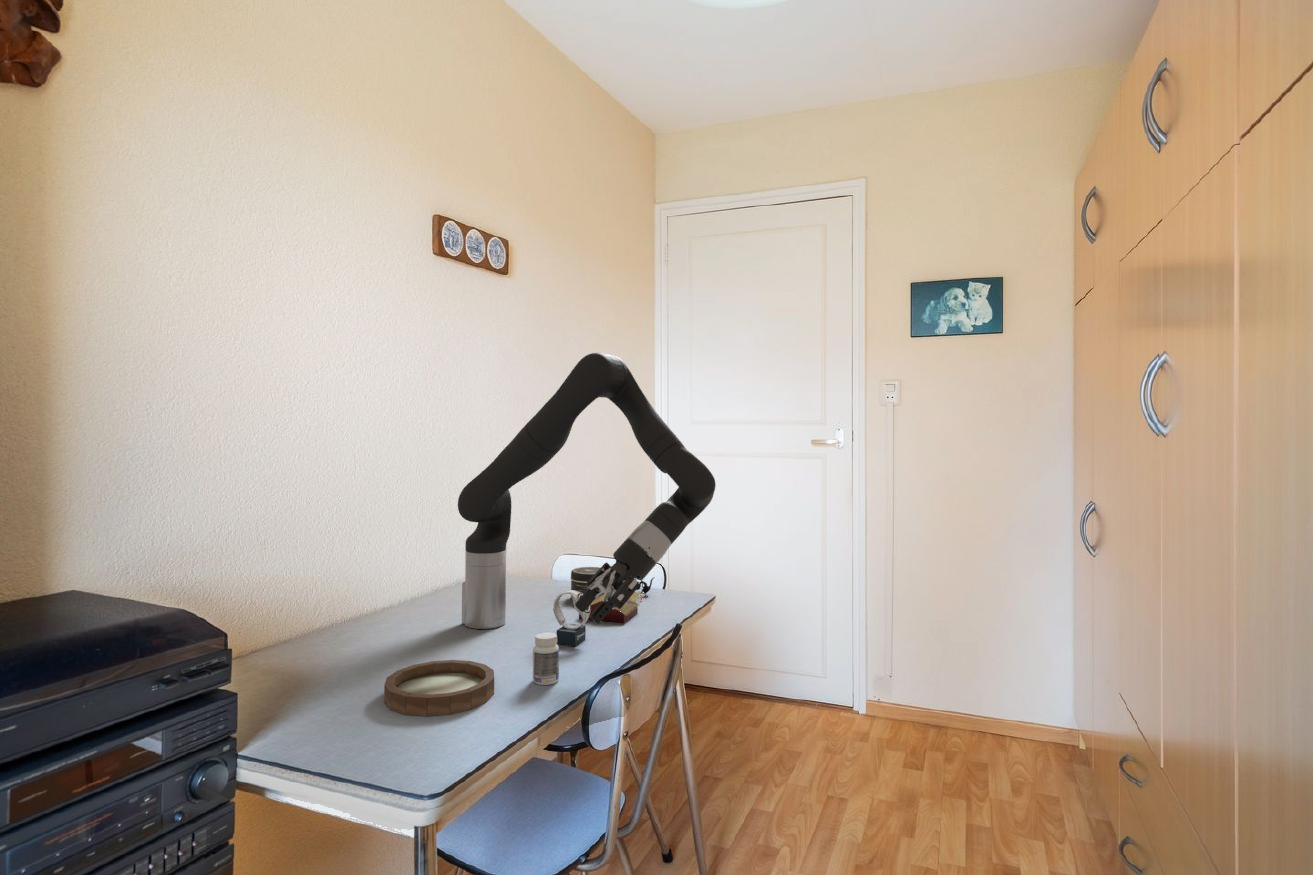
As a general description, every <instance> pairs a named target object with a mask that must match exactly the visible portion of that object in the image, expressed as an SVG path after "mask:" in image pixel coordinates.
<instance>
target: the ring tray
mask: <svg viewBox="0 0 1313 875" xmlns="http://www.w3.org/2000/svg"><path fill="white" fill-rule="evenodd" d="M383 693H384V694H383V695H384V696H383V699H384V705H386V707H388V709H389V710H391V711H393V712H396V713H400V714H403V715H405V714H408V715H407V716H416V715H419V716H418V717H435V715H437V716H445V715H453V714H454V715H455V714H457V713H461V712H465V711H470V710H473V709H475V708H477V707H479V706H481V705H484V704H486V703H487V702H488V701H490V700H491V698H493V697H494V695H495V672H494V669H493V668H491V667H490V666H488V665H487V664H486V663H485V664H484V663H480V662H477V661H473V660H463V659H448V660H447V659H446V660H445V659H444V660H443V659H442V660H431V661H426V662H421V663H417V664H416V663H415V664H412V665H410V666H406V667H403V668H401V669H398V670H395V671H394V672H393V673H392V674H390V675H389V676H387V677H386V678H385V682H384V692H383ZM420 715H421V716H420Z"/></svg>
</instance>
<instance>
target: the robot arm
mask: <svg viewBox="0 0 1313 875" xmlns="http://www.w3.org/2000/svg"><path fill="white" fill-rule="evenodd" d="M598 398H607V399H608V400H609V401H610V402H612V403H613V404H614V405H615V406H616V407H617V408H618V409H619V410H620V411H621V412H622V413H623V415H624V417H625V418H626V419H627V421H628V422H629V425H630V427H631V429H632V432H633V434H634V436H635V439H636V441H637V442H638V445H639V446H640V448H641V449H642V450H643V452H644V453H645V454H646V455H647V457H648V458H649V459H650V461H651V462H652V463H653V464H654V465H655V466H656V468H657V469H658V470H659V471H660V472H662V473H663V474H667V475H668V476H669V477H670V479H671V480H672V481H673V482H674V483H675V485H677V488H676V490H675V492H674V493H673V494H672V495H671V496H669V498H668V499H667V500H666V501H664V502H661V503H660V504H659V505H658V506H656V508H654V509H653V511H652V512H651V513H650V514H649V515H648V516H647V517H646V518H645V519H644V521H642V523H640V524H639V525H638V526H637V527H636V528H634V530H633V531H632V532H631V533H630V534H629V535H628V537H627V538H626V539H625V540H624V541H623V542H622V543H621V545H619V547H618V548H617V549H616V550H615V551H614V552H613V554H612V556H613V559H614V561H615V562H614V563H613V564H612V565H610V564H609V563H608V562H607V561H606V562H604V563H603V564H602V566H601V567H600V569H599V570H598V571H597V572H596V573H595V574H594V575H593V576H592V577H591V578H590V580H589V581H588V582H587V583H586V585H587V586H588V587H587V591H586V592H585V593H584V594H583V595H582V597H581V598H580V599H579V600H578V601H577V602H576V603H575V606H576V607H577V608H578V609H579V610H580V611H581V612H584V611H585V610H586V609H587V608H588V607H589V605H590V604H591V603H592V602H593V601H594V600H595V599H596V598H595V597H598V596H599V595H601V594H602V593H605V594H606V593H607V594H606V596H605V598H604V601H605V602H604V601H602V602H601V603H600V604H599V605H598V606H597V607H596V609H595V610H594V611H593V612H592V613H591V614H590V618H591V619H592V620H593V621H592V622H594V623H595V624H597V625H599V624H601V621H602V620H603V618H604V617H605V616H606V615H607V614H608V613H609V612H610V610H611V609H615V608H616V607H617V608H618V609H621V608H622V607H623V605H624V604H625V603H626V602H627V601H628V599H629V598H630V597H631V596H632V597H633V593H634V592H637V591H638V590H637V588H638V587H639V586H640V584H639V583H638V582H639V581H641V580H642V581H644V579H645V578H646V576H648V575H649V573H650V572H651V571H652V569H654V567H655V566H656V565H657V564H658V563H659V561H661V559H662V558H663V557H664V555H666V553H667V551H668V550H669V548H670V547H671V546H672V545H673V544H674V543H675V541H676V540H677V539H678V538H679V537H680V535H681V534H682V533H683V532H684V530H685V529H686V528H687V526H688V525H690V523H692V522H693V521H694V520H695V519H697V517H699V515H700V514H702V513H703V511H704V510H706V508H707V507H708V506H709V504H711V501H712V500H713V497H714V494H715V490H716V479H715V477H714V475H713V473H712V472H711V470H710V469H709V468H708V467H707V465H705V464H704V463H703V462H702V461H701V460H700V459H699V458H698V457H697V456H695V455H694V454H693V453H692V452H690V451H689V450H688V449H687V448H686V447H685V445H684V444H683V442H682V441H681V440H680V439H679V438H678V437H677V435H676V434H675V433H674V432H673V431H672V430H671V429H670V427H669V426H668V425H667V423H666V422H665V421H664V420H663V419H662V417H661V416H660V415H659V414H658V413H657V411H656V410H655V409H654V407H653V406H652V404H651V402H650V401H649V400H648V398H647V397H646V395H645V394H644V392H643V390H642V389H641V387H640V386H639V384H638V382H637V380H636V378H635V377H634V375H633V373H632V372H631V370H630V368H629V367H628V366H627V364H626V363H625V361H624V360H623V359H622V358H620V357H619V356H616V355H613V354H610V353H609V354H608V353H602V352H592V353H589V354H587V355H585V356H583V357H582V358H580V360H579V361H578V362H577V363H576V365H575V366H574V367H573V368H572V369H571V371H570V373H569V374H568V376H567V377H565V379H564V381H563V382H562V384H561V385H560V386H559V388H558V389H557V390H556V392H554V394H553V395H552V396H551V397H550V398H549V399H548V401H546V402H545V404H543V406H542V407H541V408H540V409H539V410H538V411H537V412H536V413H535V415H534V416H533V417H532V418H531V419H530V420H528V422H526V424H525V425H524V426H523V427H522V428H521V429H520V430H519V431H518V432H517V434H516V435H515V437H514V438H512V439H511V441H510V442H509V443H508V444H507V445H506V446H505V447H504V448H503V450H502V451H501V452H500V453H499V454H497V457H495V458H494V459H493V461H492V462H491V463H490V464H489V465H488V466H487V467H485V469H483V470H482V471H481V472H480V473H479V474H477V476H475V477H474V478H473V479H472V480H470V481H469V482H468V483H467V484H466V485H465V486H464V487H463V489H462V490H461V491H460V494H459V496H458V498H457V499H458V500H457V510H458V513H459V515H460V516H461V517H462V518H463V519H464V520H466V521H468V522H471V523H477V526H476V528H475V529H474V531H473V532H472V533H471V534H470V535H468V537H467V538H466V539H465V557H464V559H465V562H464V563H465V566H464V567H465V568H464V569H465V571H464V573H465V574H464V575H465V578H464V580H465V581H462V583H461V624H464V625H465V626H466V627H467V628H469V629H477V630H478V629H480V630H484V629H494V628H499V627H502V626H504V625H505V624H506V610H507V609H506V608H507V606H506V604H507V594H506V593H507V544H508V540H509V538H510V535H511V522H512V520H511V519H512V496H511V492H510V489H511V488H512V487H514V486H515V485H516V484H518V483H520V482H521V481H523V480H524V479H526V478H528V477H530V476H531V475H533V474H535V473H536V472H538V471H539V470H540V469H542V468H543V467H544V466H546V465H547V464H548V463H549V462H550V461H551V460H552V459H553V458H554V457H555V455H557V454H558V453H559V452H560V451H561V449H562V448H563V447H564V446H565V444H566V442H567V440H568V438H569V436H570V433H571V431H572V427H573V425H574V423H575V421H576V419H577V418H578V417H579V415H581V413H582V412H583V411H584V410H586V408H587V407H588V406H590V405H591V404H592V403H593V402H594V401H595V400H597V399H598ZM635 578H636V579H637V580H636V579H635ZM638 580H639V581H638ZM594 581H595V582H594ZM593 582H594V583H593ZM611 596H612V597H611ZM623 596H624V597H623ZM621 599H622V600H621ZM619 600H621V601H619Z"/></svg>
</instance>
